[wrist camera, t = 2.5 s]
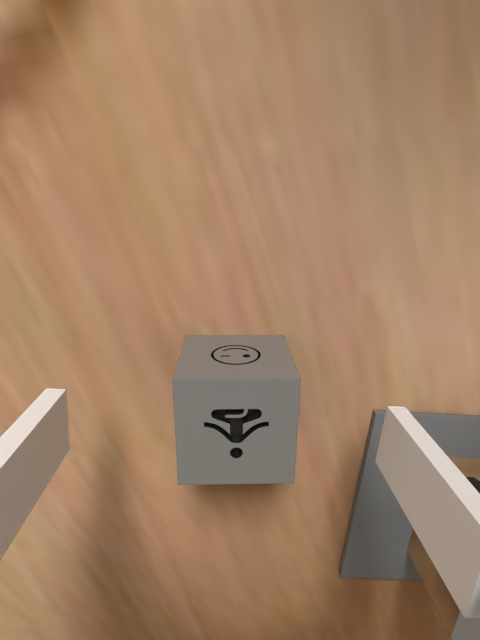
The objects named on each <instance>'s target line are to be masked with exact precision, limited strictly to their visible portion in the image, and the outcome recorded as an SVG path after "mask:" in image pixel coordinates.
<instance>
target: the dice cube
mask: <svg viewBox="0 0 480 640" xmlns="http://www.w3.org/2000/svg"><path fill="white" fill-rule="evenodd" d="M300 382H301V378H300V376H299V373H298V371H297V368H296V365H295V363H294V360H293V358H292V355H291V353H290V350H289V347H288V345H287V342H286V340H285V337H284V335H186V336H185V340H184V343H183V346H182V350H181V353H180V356H179V360H178V363H177V366H176V370H175V373H174V376H173V399H174V418H175V437H176V456H177V475H178V485H206V484H275V483H294V479H295V463H296V446H297V430H298V414H299V398H300Z"/></svg>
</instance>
